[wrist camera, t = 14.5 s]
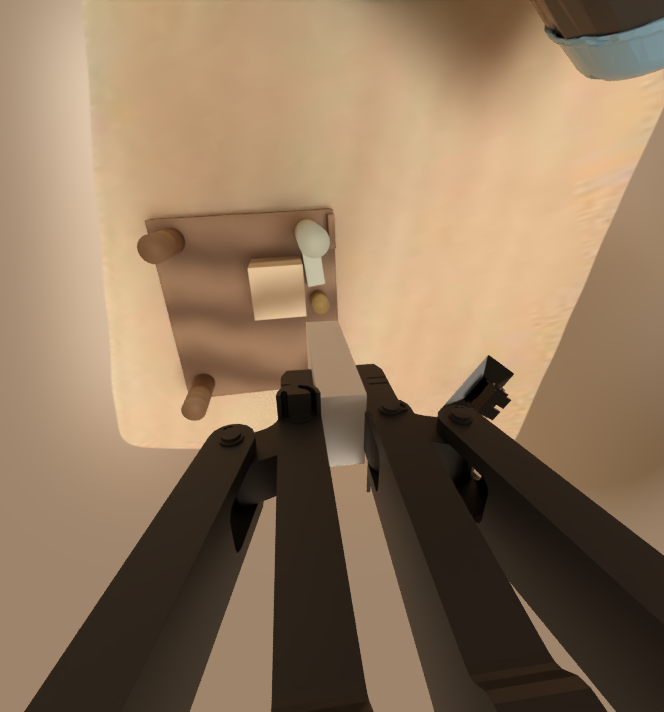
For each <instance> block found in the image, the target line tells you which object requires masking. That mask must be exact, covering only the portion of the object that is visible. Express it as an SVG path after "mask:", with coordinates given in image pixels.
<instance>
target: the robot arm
mask: <svg viewBox="0 0 664 712" xmlns="http://www.w3.org/2000/svg"><path fill="white" fill-rule="evenodd" d="M531 2H532V4H533V5H534V7H535V9H536V10H537V12H538V14H539V15H540V17H541V19H542V20H543V22H544V24H545V32H546V34H547V35H548V37H549V38H550V39H551V40H552V41H553V42H555V43H557V44H559V45H560V46H561V47H562V49H563V50H564V52H565V53H566V54H567V56H568V57H569V59H570V60H571V62H572V63H573V64H574V66H575V67H576V69H577V70H578V71H579V72H580V73H581V74H583V75H584V76H586V77H588V78H590V79H601V80H602V79H603V80H606V81H619V80H625V79H631V78H635V77H639V76H643V75H646V74H649V73H653V72H655V71H658V70H661V69H664V0H531ZM306 336H307V357H308V369H305V370H290V371H286V372H285V373H284V374H283V375H282V377H281V389H280V390H279V391H278V392H277V395H276V401H277V412H278V420H277V422H276V423H274V424H273V425H272V426H270V427H268V428H266V429H264V430H261V431H258V432H254V431H253V429H252V428H250V427H249V426H247V425H242V424H231V425H227V426H223V427H221V428H219V429H217V430H216V431H214V432H213V433H212V434H211V435H210V436H209V437H208V439H207V440H206V442H205V443H204V445H203V446H202V448H201V449H200V451H199V452H198V454H197V456H196V457H195V458H194V460H193V461H192V463H191V464H190V466H189V467H188V469H187V470H186V472H185V473H184V475H183V476H182V478H181V479H180V481H179V482H178V484H177V485H176V486H175V488H174V489H173V491H172V493H171V494H170V495H169V497H168V498H167V500H166V501H165V503H164V504H163V506H162V507H161V509H160V510H159V512H158V513H157V515H156V516H155V518H154V519H153V521H152V522H151V524H150V525H149V527H148V528H147V530H146V531H145V533H144V534H143V536H142V537H141V539H140V540H139V542H138V543H137V545H136V546H135V548H134V549H133V551H132V552H131V554H130V555H129V557H128V558H127V559H126V561H125V562H124V564H123V565H122V567H121V568H120V570H119V571H118V573H117V575H116V576H115V577H114V579H113V580H112V582H111V583H110V585H109V586H108V588H107V589H106V591H105V592H104V594H103V595H102V597H101V598H100V600H99V601H98V603H97V604H96V606H95V607H94V609H93V610H92V612H91V613H90V615H89V616H88V618H87V619H86V621H85V622H84V624H83V625H82V627H81V628H80V629H79V631H78V632H77V634H76V635H75V637H74V638H73V640H72V641H71V643H70V644H69V646H68V647H67V649H66V651H65V652H64V653H63V655H62V656H61V658H60V659H59V661H58V662H57V664H56V665H55V667H54V668H53V670H52V671H51V673H50V674H49V676H48V677H47V679H46V680H45V682H44V683H43V685H42V686H41V688H40V689H39V691H38V692H37V694H36V695H35V697H34V698H33V699H32V701H31V703H30V704H29V705H28V707H27V708H26V710H25V711H24V712H190V709H191V706H192V704H193V701H194V698H195V695H196V692H197V690H198V687H199V684H200V681H201V678H202V676H203V673H204V670H205V667H206V664H207V662H208V659H209V656H210V653H211V650H212V648H213V645H214V642H215V639H216V637H217V634H218V631H219V628H220V625H221V623H222V620H223V617H224V614H225V611H226V609H227V606H228V603H229V600H230V597H231V595H232V592H233V589H234V586H235V583H236V581H237V578H238V575H239V572H240V569H241V567H242V564H243V561H244V558H245V555H246V553H247V550H248V547H249V544H250V542H251V539H252V536H253V533H254V530H255V527H256V525H257V522H258V519H259V516H260V514H261V510H262V508H263V502H264V500H267V499H270V498H272V497H275V496H277V497H276V538H275V540H276V541H275V582H274V584H275V585H274V626H273V671H272V675H273V676H272V708H271V712H373V709H372V706H371V704H370V702H369V699H368V695H367V689H366V684H365V679H364V673H363V666H362V660H361V654H360V648H359V642H358V636H357V630H356V623H355V617H354V611H353V605H352V599H351V593H350V587H349V581H348V575H347V569H346V563H345V557H344V550H343V544H342V538H341V533H340V526H339V520H338V514H337V508H336V503H335V496H334V490H333V484H332V478H331V471H330V467H332V466H342V465H353V464H363V463H364V461H365V459H364V458H365V454H366V457H367V460H368V469H367V492H370V486H371V489H372V492H373V496H374V499H375V503H376V506H377V510H378V514H379V517H380V521H381V524H382V528H383V531H384V535H385V538H386V541H387V545H388V549H389V552H390V556H391V559H392V563H393V566H394V570H395V574H396V577H397V580H398V584H399V588H400V591H401V595H402V598H403V602H404V605H405V609H406V613H407V616H408V619H409V623H410V626H411V630H412V634H413V637H414V641H415V644H416V648H417V651H418V655H419V658H420V662H421V666H422V669H423V673H424V676H425V680H426V683H427V686H428V690H429V694H430V697H431V700H432V704H433V708H434V712H607V711H606V709H605V707H604V706H603V704H602V703H601V702H600V700H599V699H598V697H597V696H596V695H595V693H594V692H593V691H592V689H591V688H590V687H589V686H588V685H587V684H586V683H585V682H584V681H583V680H582V679H581V678H580V677H579V676H578V675H575V674H573V673H571V672H568V671H566V670H564V669H562V668H561V667H560V666H559V665H558V664H557V663H556V662H555V661H554V659H553V658H552V656H551V655H550V653H549V652H548V650H547V648H546V647H545V645H544V643H543V641H542V639H541V638H540V636H539V634H538V632H537V631H536V629H535V627H534V625H533V624H532V622H531V620H530V618H529V616H528V615H527V613H526V611H525V609H524V607H523V606H522V604H521V602H520V600H519V599H518V597H517V595H516V594H515V592H514V590H513V588H512V586H511V584H512V585H513V587H515V589H516V590H517V591H518V593H519V594H520V595H521V596H522V597H523V599H524V600H525V601H526V602H527V604H528V605H529V606H530V607H531V608H532V610H533V611H534V612H535V613H536V615H537V616H538V617H539V618H540V619H541V621H542V622H543V623H544V624H545V626H546V627H547V628H548V629H549V630H550V632H551V633H552V634H553V635H554V636H555V638H556V639H557V640H558V641H559V643H560V644H561V645H562V646H563V647H564V649H565V650H566V651H567V652H568V654H569V655H570V656H571V657H572V658H573V660H574V661H575V662H576V663H577V665H578V666H579V667H580V668H581V669H582V670H583V672H584V673H585V674H586V675H587V676H588V678H589V679H590V680H591V681H592V683H593V684H594V685H595V686H596V688H597V689H598V690H599V691H600V692H601V694H602V695H603V696H604V697H605V699H606V700H607V701H608V702H609V703H610V705H611V706H612V707H613V708H614V709H615V710H616V712H664V555H662V554H661V553H660V552H658V551H657V550H656V549H655V548H653V547H652V546H651V545H649V544H648V543H647V542H645V541H644V540H643V539H641V538H640V537H639V536H638V535H636V534H635V533H634V532H632V531H631V530H630V529H628V528H627V527H626V526H625V525H623V524H622V523H621V522H619V521H618V520H617V519H616V518H614V517H613V516H612V515H610V514H609V513H608V512H607V511H605V510H604V509H603V508H601V507H600V506H599V505H597V504H596V503H595V502H593V501H592V500H591V499H590V498H588V497H587V496H586V495H584V494H583V493H582V492H580V491H579V490H578V489H577V488H575V487H574V486H573V485H571V484H570V483H569V482H568V481H566V480H565V479H564V478H562V477H561V476H560V475H558V474H557V473H556V472H555V471H553V470H552V469H551V468H549V467H548V466H547V465H546V464H544V463H543V462H541V461H540V460H539V459H538V458H536V457H535V456H534V455H533V454H531V453H530V452H529V451H527V450H526V449H525V448H523V447H522V446H521V445H520V444H518V443H517V442H516V441H514V440H513V439H512V438H510V437H509V436H508V435H507V434H505V433H504V432H503V431H501V430H500V429H499V428H498V427H496V426H495V425H494V424H492V423H491V422H490V421H488V420H487V419H486V418H485V417H483V416H482V415H481V414H479V413H478V412H476V411H475V410H473V409H471V408H468V407H465V406H460V405H450V406H445V407H443V408H441V409H440V411H439V412H438V417H431V416H423V415H418V414H415V413H414V412H413V411H412V409H411V407H410V406H409V405H408V404H407V403H405V402H403V401H401V400H398V399H397V397H396V395H395V393H394V391H393V389H392V387H391V386H390V384H389V382H388V380H387V378H386V376H385V374H384V372H383V370H382V369H380V368H379V367H378V366H376V365H375V364H365V365H355V363H354V360H353V358H352V355H351V353H350V350H349V348H348V345H347V343H346V340H345V338H344V335H343V333H342V330H341V327H340V325H339V322H338V321H319V322H306ZM474 469H475V470H476V471H477V472H478V473H479V474H480V475H481V476H482V477H481V478H480V477H479V476H477V475H476V474H475V473H474V472H473V471H474ZM508 580H509V581H508ZM509 582H510V583H511V584H510V583H509Z"/></svg>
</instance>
